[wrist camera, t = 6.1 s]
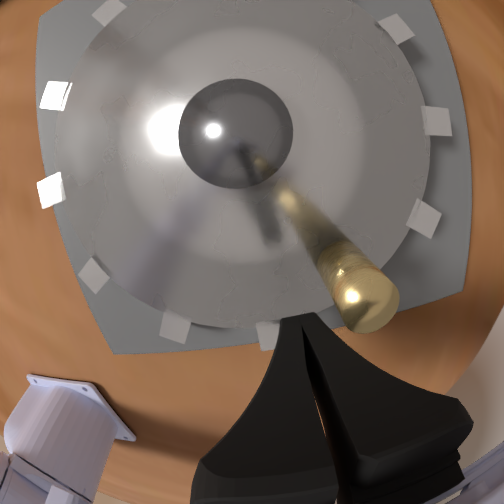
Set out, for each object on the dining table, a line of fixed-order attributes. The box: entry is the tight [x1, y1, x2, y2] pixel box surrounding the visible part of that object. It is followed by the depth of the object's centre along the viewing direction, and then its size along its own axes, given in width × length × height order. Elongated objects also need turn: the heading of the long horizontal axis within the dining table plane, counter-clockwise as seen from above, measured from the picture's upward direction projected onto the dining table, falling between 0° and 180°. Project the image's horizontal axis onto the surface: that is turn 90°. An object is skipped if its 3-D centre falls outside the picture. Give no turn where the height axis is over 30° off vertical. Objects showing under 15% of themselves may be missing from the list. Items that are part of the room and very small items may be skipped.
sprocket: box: [37, 0, 452, 351], centre depth 7 cm, size 18×18×4 cm
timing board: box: [35, 0, 472, 354], centre depth 10 cm, size 21×21×1 cm
